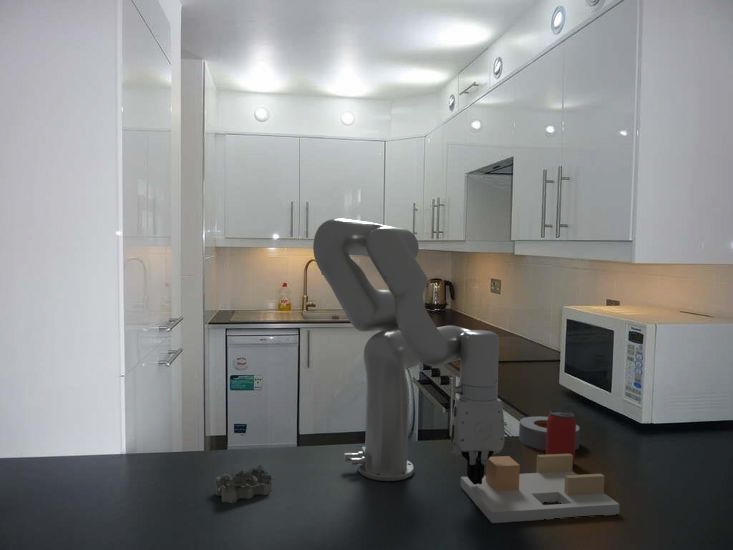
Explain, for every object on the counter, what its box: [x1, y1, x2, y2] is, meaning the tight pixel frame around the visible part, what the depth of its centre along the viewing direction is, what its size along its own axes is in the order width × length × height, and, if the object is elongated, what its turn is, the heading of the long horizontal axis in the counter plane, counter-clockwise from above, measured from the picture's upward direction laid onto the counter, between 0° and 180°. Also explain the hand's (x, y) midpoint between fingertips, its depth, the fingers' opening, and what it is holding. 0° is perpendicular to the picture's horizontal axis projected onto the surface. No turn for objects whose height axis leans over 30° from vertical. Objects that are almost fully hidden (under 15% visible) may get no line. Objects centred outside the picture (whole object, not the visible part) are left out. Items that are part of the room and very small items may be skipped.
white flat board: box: [460, 454, 620, 524], centre depth 109 cm, size 26×17×6 cm, turn 101°
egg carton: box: [213, 464, 275, 504], centre depth 108 cm, size 11×8×4 cm
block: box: [485, 455, 521, 491], centre depth 110 cm, size 5×5×5 cm
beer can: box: [545, 409, 577, 465], centre depth 129 cm, size 7×7×12 cm
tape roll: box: [518, 416, 581, 452], centre depth 144 cm, size 15×15×5 cm
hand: (475, 481), depth 109 cm, fingers closed
